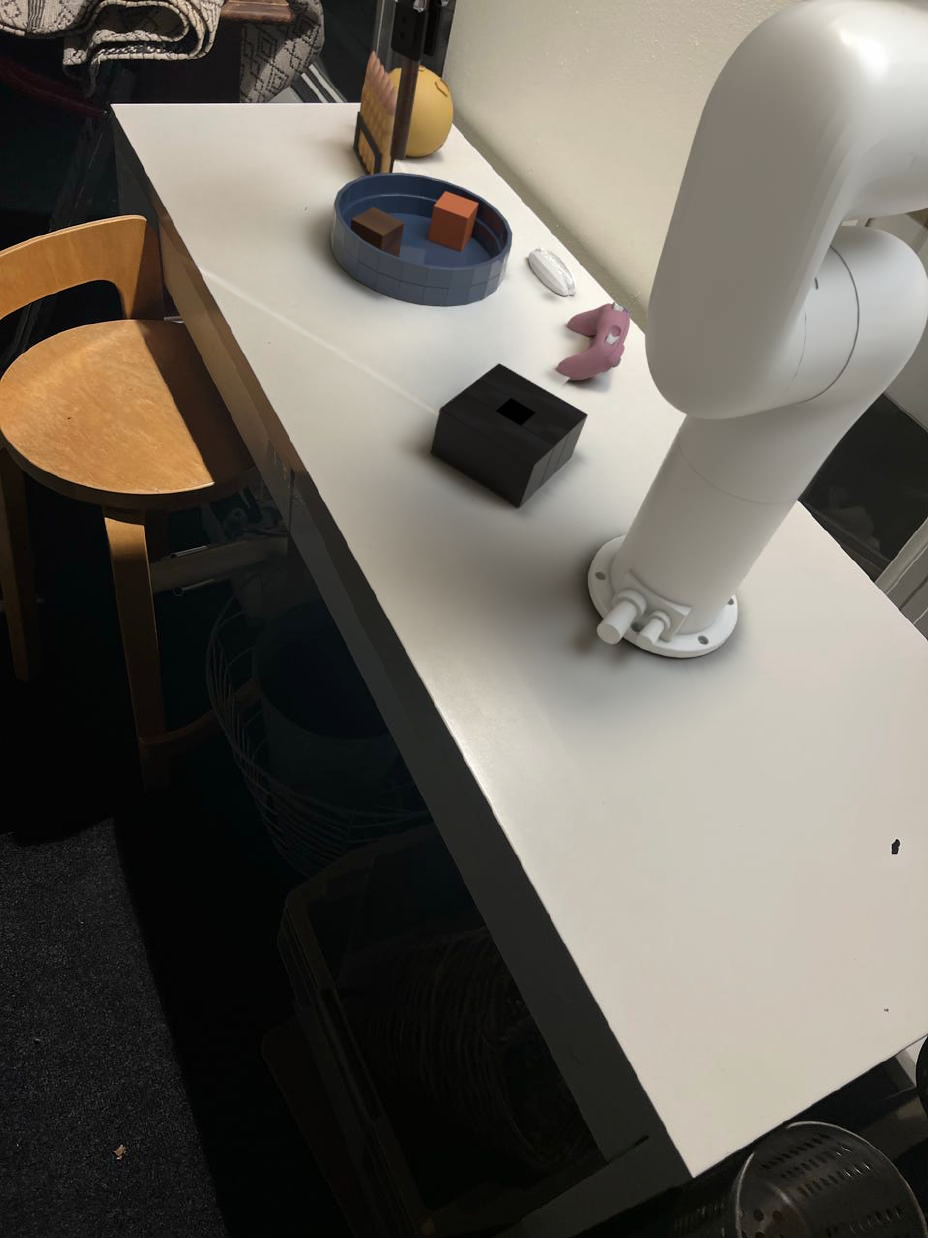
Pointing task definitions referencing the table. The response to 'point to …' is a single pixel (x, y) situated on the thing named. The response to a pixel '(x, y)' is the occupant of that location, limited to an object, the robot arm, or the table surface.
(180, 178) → the table surface
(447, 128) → the stress ball
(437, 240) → the terracotta block
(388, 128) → the ammunition clip
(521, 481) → the stick stand
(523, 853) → the table surface
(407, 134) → the stirring stick
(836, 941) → the table surface
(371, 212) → the walnut block
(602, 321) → the video game controller
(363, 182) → the bowl
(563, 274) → the white ridged capsule
